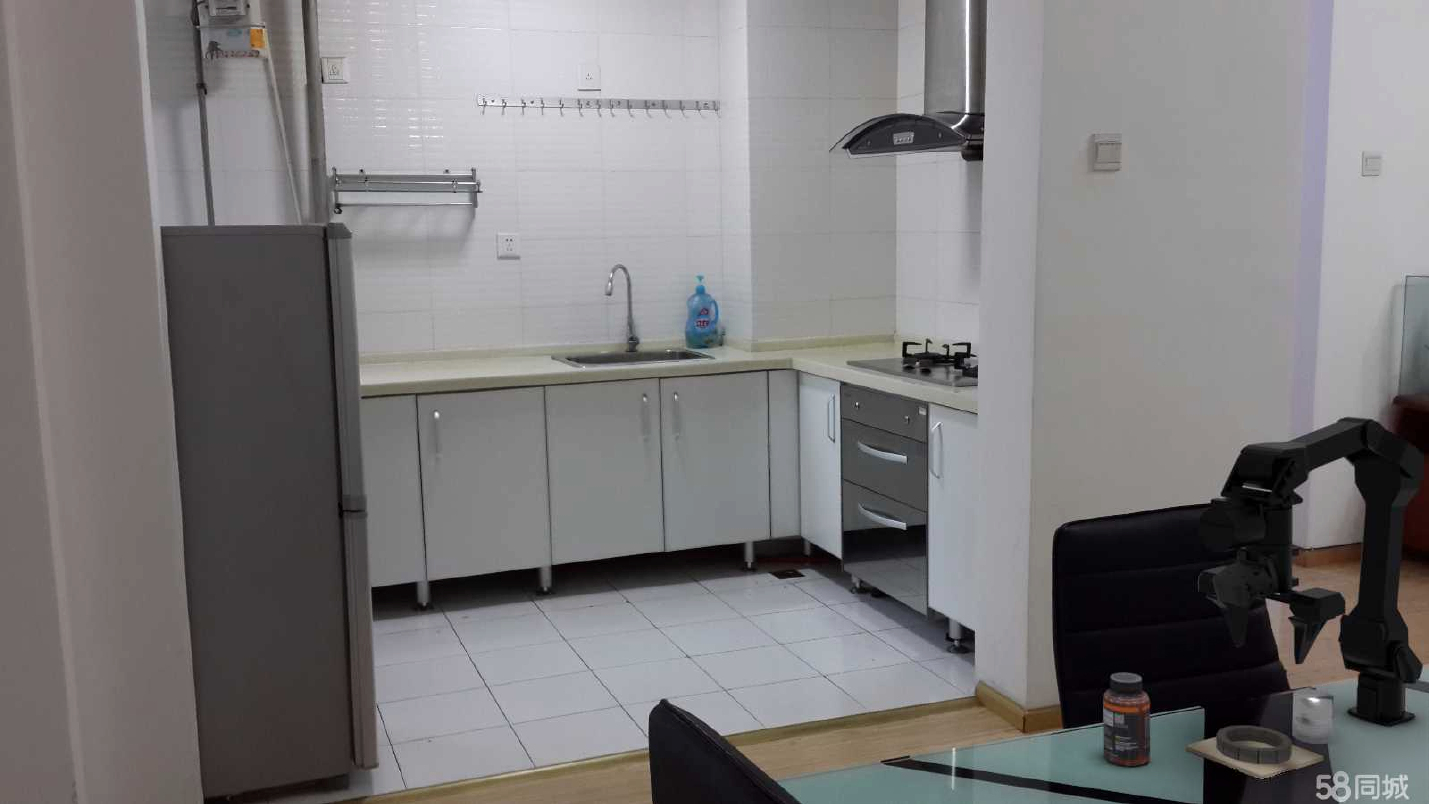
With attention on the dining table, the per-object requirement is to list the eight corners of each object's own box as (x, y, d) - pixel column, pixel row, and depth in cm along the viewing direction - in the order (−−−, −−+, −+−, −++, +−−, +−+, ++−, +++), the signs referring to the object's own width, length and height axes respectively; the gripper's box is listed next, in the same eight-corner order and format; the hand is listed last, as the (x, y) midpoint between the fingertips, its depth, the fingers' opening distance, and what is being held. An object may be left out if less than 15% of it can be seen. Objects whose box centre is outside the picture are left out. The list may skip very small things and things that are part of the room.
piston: (1308, 728, 175) (1309, 687, 175) (1340, 739, 171) (1341, 697, 170) (1284, 735, 173) (1285, 693, 172) (1316, 747, 168) (1317, 704, 168)
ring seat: (1246, 732, 174) (1246, 715, 174) (1323, 760, 164) (1323, 743, 164) (1185, 749, 169) (1186, 732, 168) (1261, 780, 158) (1262, 762, 158)
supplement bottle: (1144, 750, 169) (1144, 669, 168) (1155, 768, 163) (1155, 684, 162) (1098, 750, 169) (1099, 669, 168) (1108, 767, 164) (1108, 684, 162)
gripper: (1169, 537, 169) (1170, 648, 170) (1290, 563, 152) (1290, 687, 154) (1225, 525, 174) (1226, 633, 176) (1348, 549, 157) (1347, 669, 159)
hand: (1268, 654), depth 166 cm, fingers open, 9 cm apart
